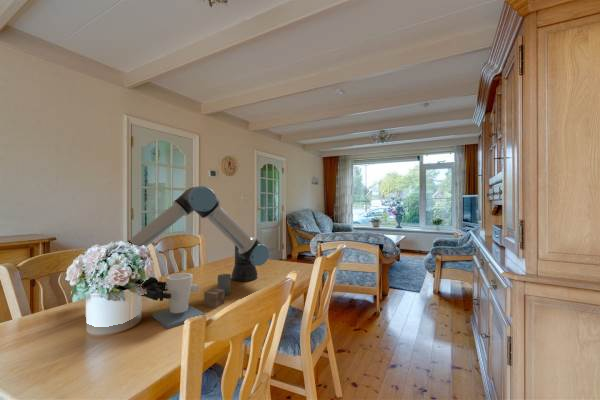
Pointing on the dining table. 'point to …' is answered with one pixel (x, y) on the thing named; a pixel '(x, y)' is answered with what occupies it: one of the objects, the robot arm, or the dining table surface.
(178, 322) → the slate board
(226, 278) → the charcoal cylinder
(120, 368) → the dining table surface
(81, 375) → the dining table surface
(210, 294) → the walnut block
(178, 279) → the foam cup
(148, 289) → the robot arm
